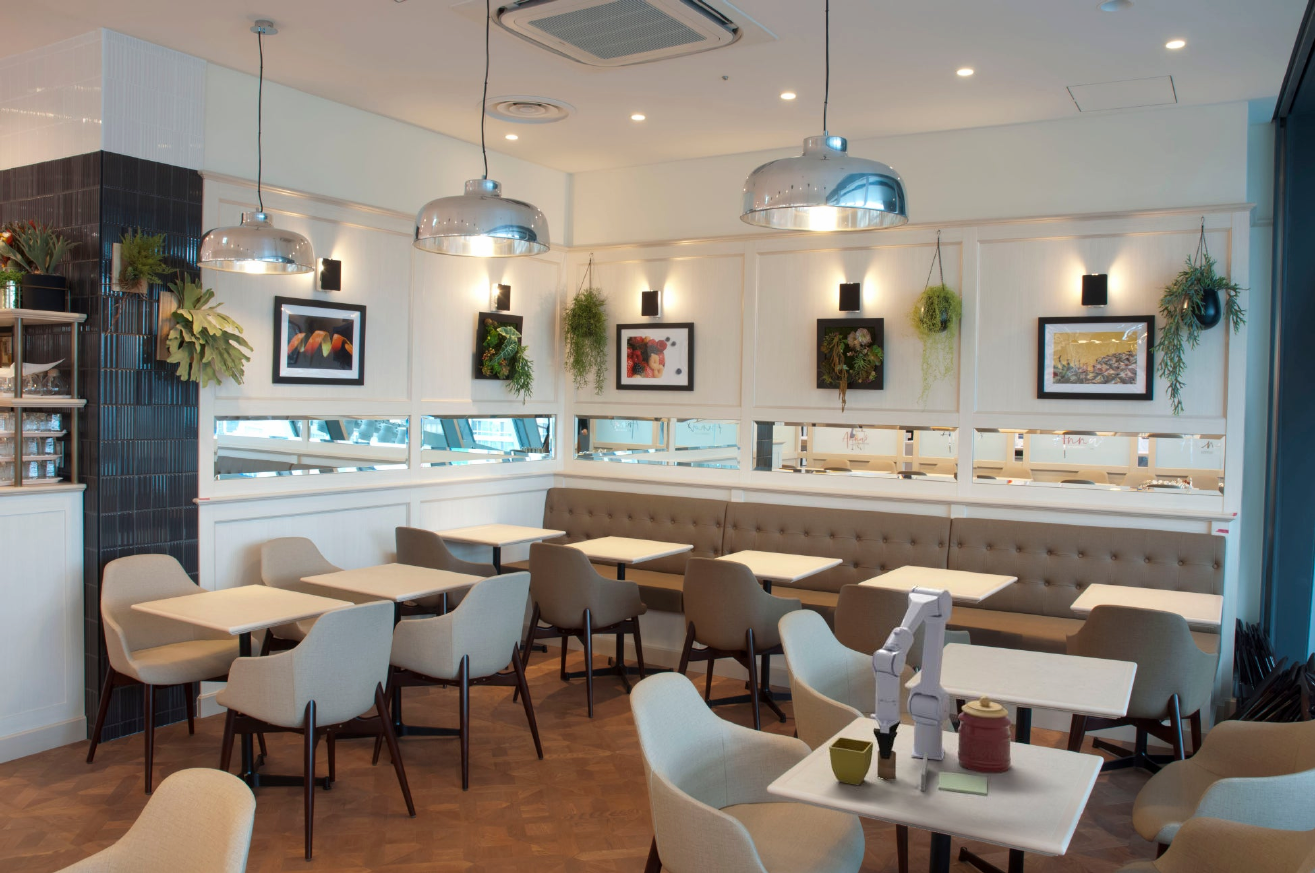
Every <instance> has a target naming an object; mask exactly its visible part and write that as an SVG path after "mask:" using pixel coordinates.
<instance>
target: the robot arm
mask: <svg viewBox="0 0 1315 873" xmlns="http://www.w3.org/2000/svg"><path fill="white" fill-rule="evenodd" d="M907 603H908V604H907V605H908V608H907V611H906V612H905V614H904V617H903V620H902V622H901V624H900V626H899V627H898V626H897V627H895V628H893V630H892V631H891V633H890V635H889V636H888V637H887V639H886V641H885V643H884V645H883V647H882V648H880V649H878V650H876V651H874V653H873V655H872V658H871V659H872V660H871V664H870V665H871V669H872V672H873V677H874V679H875V713H871V714H870V719H872V720H874V721H876V722H877V725H878V727H879V728H878V727H877V728H875V727H874V728H873V735H874V737H875V739H876V741H877V745H878V750H879V752H880V757H881V759H890V756H891V751H893V749H894V744H895V739H896V737H897V735H898V731H897V730H898V728H899V725H900V724H901V717H900V684H901V681H900V680H901V675H902V673H903V672H904V670H905V665H906V661H907V655H908V652H910V649H911V648H912V645H913V644H914V642H915V637H914V635H913V634H915V632H916V630H917V629H918V628H919V626H920V625H921V623H922V622H923V621H924V622H925V630H924V638H923V639H924V641H923V650H922V660H921V671H920V681H919V683H917V684H915V685H914V686H912V687H911V688H910V693H909V697H908V699H907V702H906V707H907V708H906V709H907V712H908V714H909V716H911V720H913V721H914V724H913V726H914V727H913V729H914V730H913V745H912V751H911V757H912V758H917V759H918V758H919V759H920V758H921V759H924V753H928V759H929V760H935V761H936V760H937V761H943V760H944V756H945V747H943V726H944V723H946V721H948V719H949V718H950V713H951V704H950V693H949V692H948V691H947V690H946V689H945V688H944V687H943V686H942V685H941V684H940V683H941V674H942V666H943V665H942V664H943V656H944V644H945V635H946V634H945V633H946V625H947V622H950V621H951V618H952V608H953V598H952V596H951V593H950V591H949V590H947V589H939V588H938V589H937V588H930V587H922V586H918V585H914V586H913V587H912V588H911V589H910V590H909V592H908V597H907Z"/></svg>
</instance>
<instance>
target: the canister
mask: <svg viewBox="0 0 1315 873" xmlns="http://www.w3.org/2000/svg"><path fill="white" fill-rule="evenodd" d="M961 710H962V712H961V713H959V714H958V715H957V716H958V717H957V719H958V720H959V721H960V723H959V727H958V728H957V731H958V749H957V750H958V751H957V758H958V763H959V764H960V765H961V766H963V767H964V768H966V769H969V770H972V771H976V772H980V773H989V774H994V773H996V774H997V773H1003V772H1007V771H1008V770H1010V767H1011V764H1012V762H1011V761H1012V757H1011V738H1012V733H1011V731H1010V726H1011V724H1012V720H1011V719H1010V717H1008V714H1009V711H1008V710H1007V709H1006V708H1004V707H1003V706H1002V705H1001V704H999V703H996V702H993V701H991V699H990V698H989V697H988V696H986V695H982V696H980V698H979V700H971V701H969V702H967V703H966V704H964V705H962V706H961Z"/></svg>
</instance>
